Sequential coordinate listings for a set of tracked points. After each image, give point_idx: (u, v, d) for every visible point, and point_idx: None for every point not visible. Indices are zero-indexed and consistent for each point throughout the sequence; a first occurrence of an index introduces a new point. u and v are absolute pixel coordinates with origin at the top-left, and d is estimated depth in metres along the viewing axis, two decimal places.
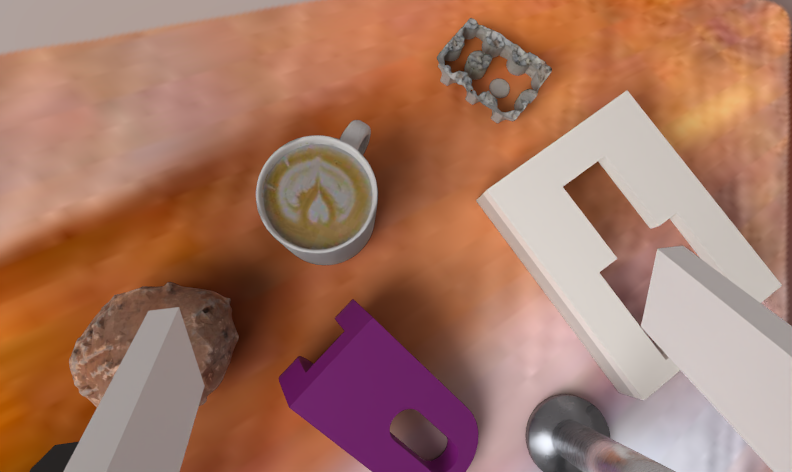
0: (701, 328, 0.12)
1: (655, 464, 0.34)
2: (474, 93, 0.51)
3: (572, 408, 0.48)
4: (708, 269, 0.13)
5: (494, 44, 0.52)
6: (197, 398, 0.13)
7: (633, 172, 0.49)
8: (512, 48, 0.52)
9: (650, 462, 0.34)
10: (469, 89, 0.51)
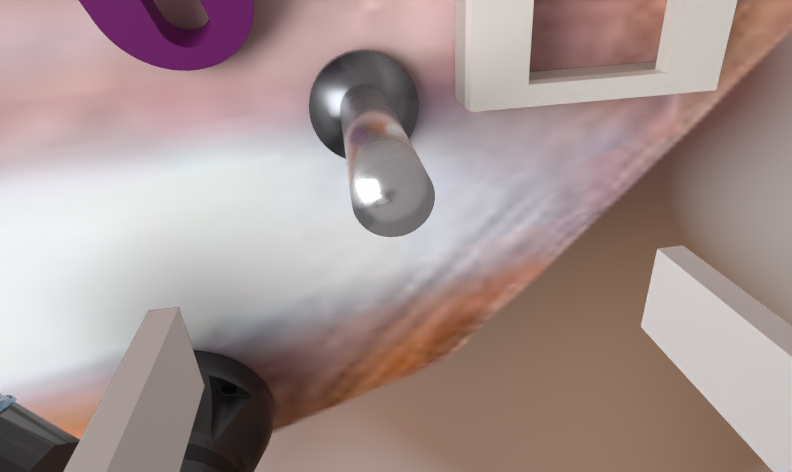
0: (701, 327, 0.12)
1: (407, 146, 0.23)
2: None
3: (389, 78, 0.36)
4: (708, 269, 0.13)
5: None
6: (197, 398, 0.13)
7: None
8: None
9: (404, 142, 0.24)
10: None
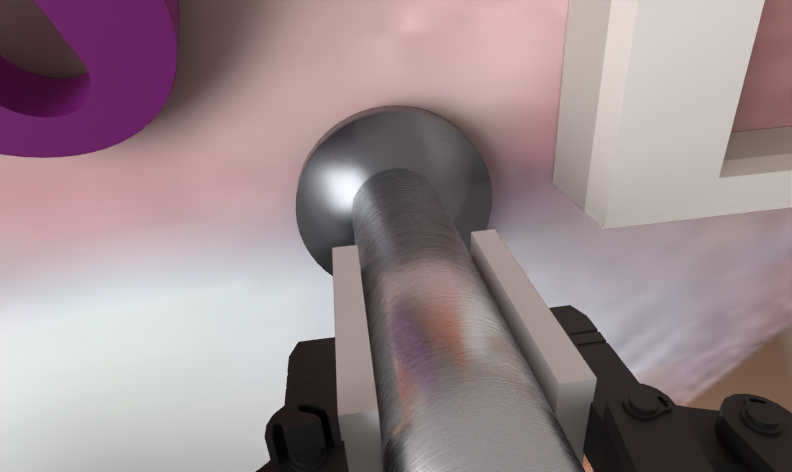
0: None
1: None
2: None
3: (443, 158, 0.19)
4: (502, 249, 0.14)
5: None
6: None
7: None
8: None
9: None
10: None
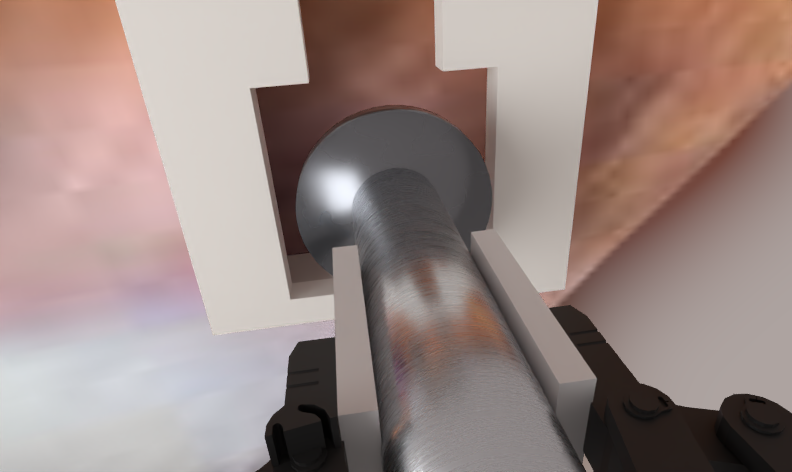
0: None
1: None
2: None
3: (443, 157, 0.19)
4: (502, 249, 0.14)
5: None
6: None
7: None
8: None
9: None
10: None
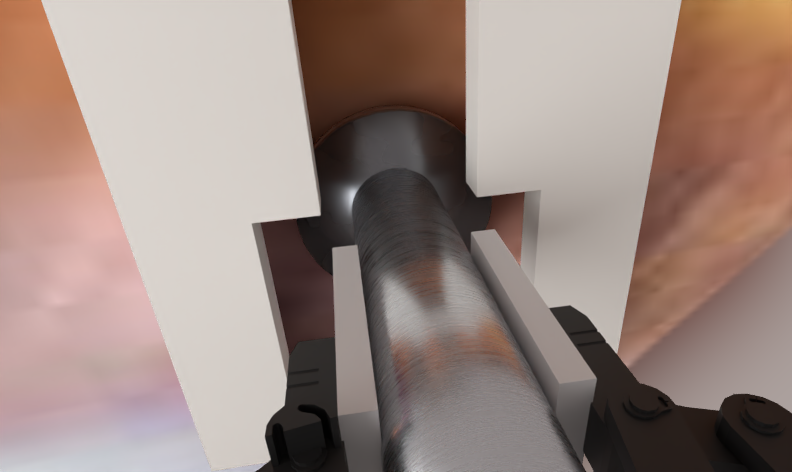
0: None
1: None
2: None
3: (443, 157, 0.19)
4: (502, 249, 0.14)
5: None
6: None
7: (521, 19, 0.15)
8: None
9: None
10: None
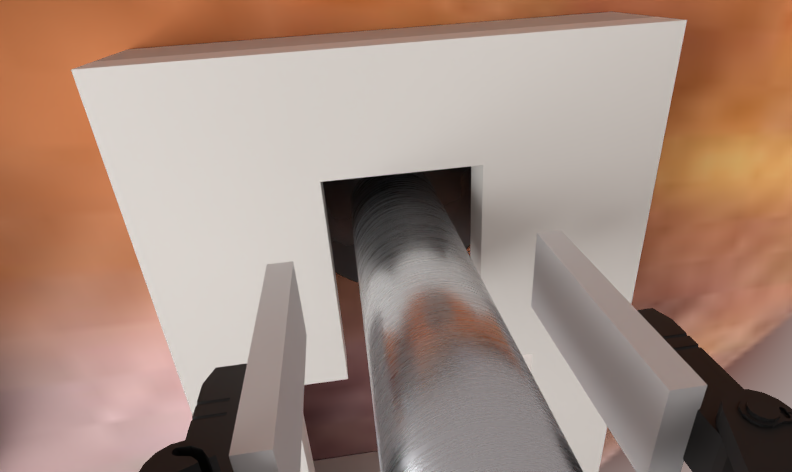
0: (564, 303, 0.14)
1: None
2: None
3: None
4: (574, 250, 0.14)
5: None
6: (305, 344, 0.15)
7: (516, 238, 0.18)
8: None
9: (559, 464, 0.08)
10: None
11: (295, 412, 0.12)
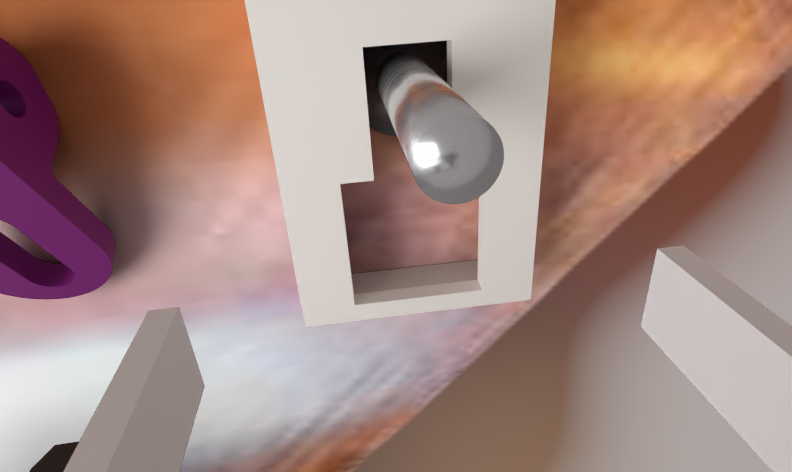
0: (700, 327, 0.12)
1: (468, 105, 0.21)
2: None
3: (429, 45, 0.33)
4: (708, 269, 0.13)
5: None
6: (197, 398, 0.13)
7: (472, 87, 0.31)
8: None
9: (464, 101, 0.21)
10: None
11: None
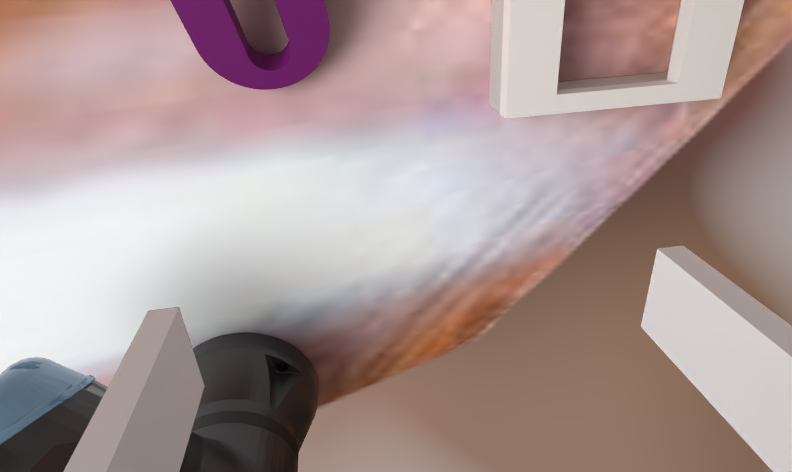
0: (701, 327, 0.12)
1: None
2: None
3: None
4: (708, 269, 0.13)
5: None
6: (197, 398, 0.13)
7: None
8: None
9: None
10: None
11: None
